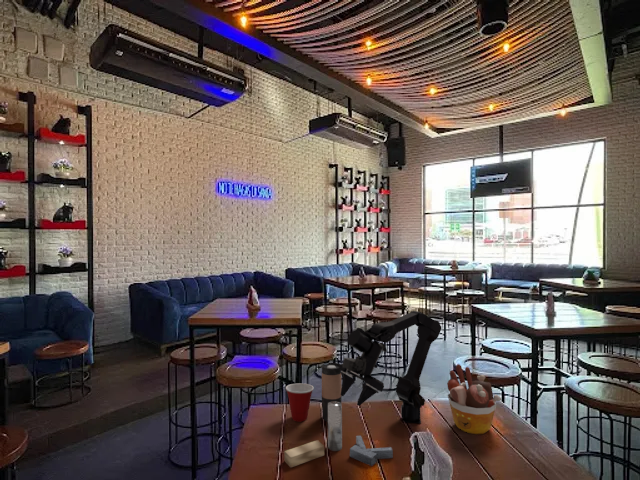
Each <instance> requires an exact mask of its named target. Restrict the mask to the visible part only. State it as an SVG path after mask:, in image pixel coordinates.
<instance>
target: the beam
mask: <svg viewBox="0 0 640 480" xmlns="http://www.w3.org/2000/svg"><path fill="white" fill-rule="evenodd" d="M283 453H284V462H285V463H286V465H287V466H289V468H293V467H296V466H299V465H302V464H304V463H307V462H310V461H313V460H315V459H318V458H321V457H323V456H325V445H324V444H323V443H322V442H320V441H319V439H316V440H314V441H311V442H307V443H305V444H302V445H299V446H296V447H293V448H290V449H287V450H284V452H283Z"/></svg>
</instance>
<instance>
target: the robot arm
mask: <svg viewBox="0 0 640 480" xmlns="http://www.w3.org/2000/svg"><path fill="white" fill-rule="evenodd" d="M413 326H416V327H417V329H416V331H417V332H416V333H417V336H418V339H417V342H416V345H415V349H414V351H413V354H412V357H411V359H410V363H409V366H408V368H407V372H406V374H405V375H404V376H399V377H398V380H397V384H396V385H395V387H396V389H395V393H396V395H397V397H398V399H399V401H401V402H402V404H401V405H400V409H401V410H400V414H401V416H400V417H401V419H402V422H403V423H410V424H411V423H412V424H422V421H421V408H423V407H424V405H425V402H426V399H425V398H424V397H423V396H422V394H421V389H422V387H421V383H420V380H421V379H420V378H421V376H422V372H423V369H424V367H425V364H426V362H427V356H428V354H429V351H430V348H431V345H432V343H433V342H435V341H436V340H437V339H438V338H439V335H440V333H441V331H442V325H441V323H440V321H438V320H437V319H436V320H435V319H433V318H432V317H429V316H428V315H426V314H424V313H423V312H421V311H417V310H412V311H410V312H409V313H406V314H404V315H402V316H400V317H398V318H394V319H393V320H391V321H385V322H383V321H382V322H381V321H380V322H378V323H377V322H375V323H373V324H372V325H371V327H369V328H368V329H367V330H364V329H363V328H362V327H358V326H357V327H356V329H355V330H353V331H351V332H350V334H349V335H348V337H347V340H346V341H347V344H348V345H349V346H350V347H352V348H353V349H355V350H357V351H358V352H359V353H361V355H357V356H356V358H350V357H344V359H343V363H340V367H339V370H341V371H340V373H341V396H342V397H344V396H345V395H346V394H347V392H348V390H350V388H351V387H352V385H353V384H354V383H355V381H356V379H355V378H357V379H359V380H360V381H363V382H361V385H362V390H361V391H360V394H359V396H358V399H357V402H356V405H357V406H358V407H359V406H361V405H362V404H364V403H365V402H366V401H367V400H369V399H370V398H371V397H372V396H374V395H375V394H379V392H381V393H383V390H384V388H385V383H384V382H382V381H381V380H379V379H377V378H376V377H374V376H372V374H373V371H374V369H378V366H379V365H377V362H378V360H379V358H380V355H381V353H382V352H384V353H387V352H388V349H387V346H386V344H387V343H389V342H391V340H392V341H393V339H394V338H395V337H396V335H397V334H399V333H400V332H402V331H404V330H406V329H409V328H411V327H413Z"/></svg>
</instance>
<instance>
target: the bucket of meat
mask: <svg viewBox="0 0 640 480" xmlns="http://www.w3.org/2000/svg"><path fill="white" fill-rule="evenodd" d="M455 368H456V372H457V374H456V372H455V371H454V370H450V371H449V376H450V379H448V381H447V390H448V391H449V393H448V394H447V398H448V401H449V406H450V410H451V415H452V419H453V422H454V425H456V427H457V428H458V429H459V430H460V429H461V430H460V431H462V432H464V433H466V432H467V433H466V434H472V435H483V434H484V435H485V434H486V433H487V432H488V431H489V430H490V429H491V428H492V423H493V420H494V416H495V411H496V407H497V401H498V402H499V401H501V400H502V397H500V396H499V395H497V394H493V392H494V391H493V388H492V382H488V381H485V379H487V377H486V375H484V374H480V375H477V377H476V379H477V380H473V378H472V373H471V368H470V367H468V366H466V367H465V368H464V371H465V375H464V372H463V368H462V365H461V364H459V363H457V364H456V367H455ZM457 375H458V377H457ZM465 376H466V380H465ZM466 381H467V384H466ZM467 387H468V388H467Z"/></svg>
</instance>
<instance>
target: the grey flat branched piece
mask: <svg viewBox="0 0 640 480" xmlns="http://www.w3.org/2000/svg"><path fill="white" fill-rule="evenodd" d="M393 452H394V451H393V447H391V446H388V447H375V448H373V447H371V448H366V445H365V442H364V439H363V437H362V435H356V436H355V444H354V445H353V446H352V447H350V448H349V457H350V458H352V459H354V460H356V461H359V462H361V463H364V464H365V465H368V466H370V467H373V466H374V465H376V464H377V462H378V460H384V459H393V458H394V457H393V456H394V455H393Z"/></svg>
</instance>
